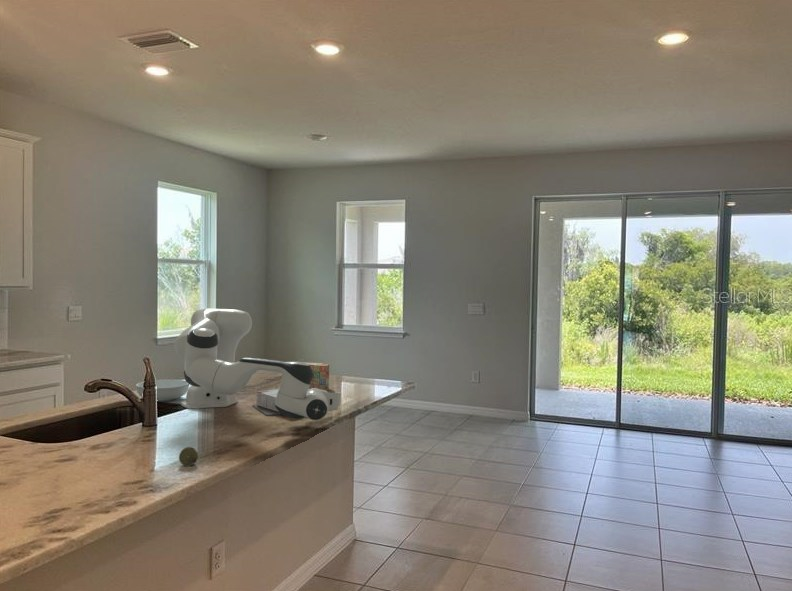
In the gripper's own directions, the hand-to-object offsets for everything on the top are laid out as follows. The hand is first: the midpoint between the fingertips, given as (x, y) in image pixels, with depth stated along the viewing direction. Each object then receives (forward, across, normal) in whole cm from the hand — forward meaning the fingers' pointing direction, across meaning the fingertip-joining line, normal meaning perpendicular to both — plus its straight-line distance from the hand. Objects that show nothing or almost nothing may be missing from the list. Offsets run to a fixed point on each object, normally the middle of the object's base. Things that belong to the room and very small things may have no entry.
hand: (312, 394), depth 223 cm
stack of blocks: (+57, -1, -8) cm, 57 cm away
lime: (-51, -37, -12) cm, 64 cm away
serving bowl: (+36, -61, -9) cm, 71 cm away
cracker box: (+6, -4, -6) cm, 9 cm away
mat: (+16, -11, -9) cm, 21 cm away
